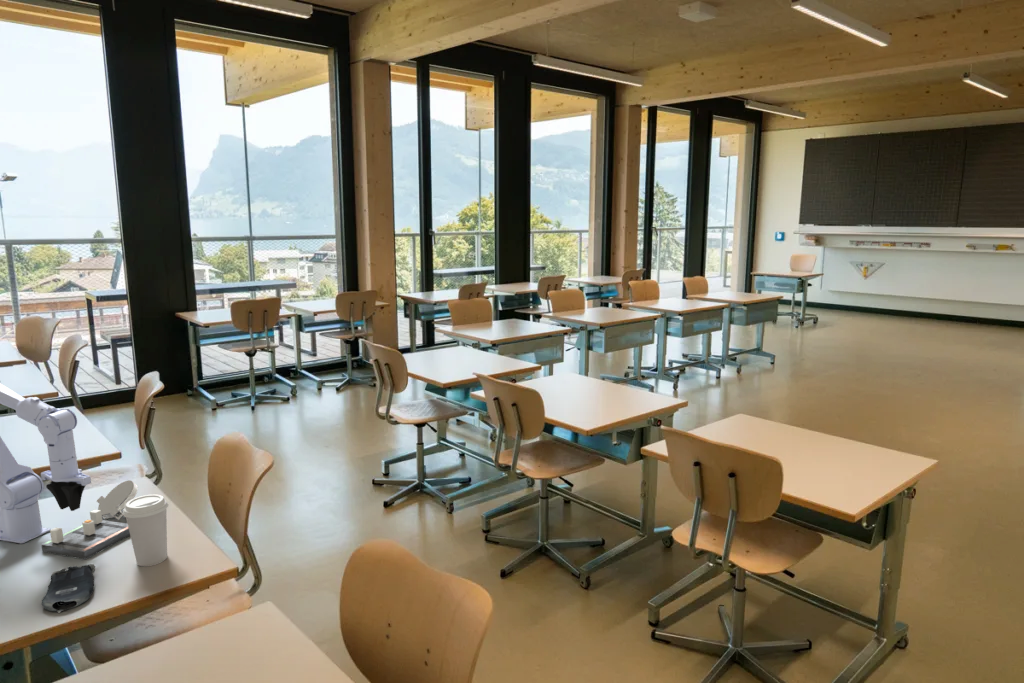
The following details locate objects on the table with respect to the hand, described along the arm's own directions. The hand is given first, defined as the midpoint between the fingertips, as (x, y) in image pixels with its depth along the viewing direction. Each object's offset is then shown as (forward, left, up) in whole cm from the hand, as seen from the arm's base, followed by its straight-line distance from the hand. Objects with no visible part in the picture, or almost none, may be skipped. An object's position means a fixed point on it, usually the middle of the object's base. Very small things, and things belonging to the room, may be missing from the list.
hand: (70, 508), depth 172 cm
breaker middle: (+5, 0, -6) cm, 8 cm away
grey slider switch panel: (+6, 0, -8) cm, 10 cm away
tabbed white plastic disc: (-2, +16, -9) cm, 18 cm away
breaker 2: (+1, +6, -6) cm, 8 cm away
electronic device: (+23, -20, -9) cm, 32 cm away
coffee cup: (+28, -3, -9) cm, 30 cm away
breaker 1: (+1, -6, -6) cm, 8 cm away
